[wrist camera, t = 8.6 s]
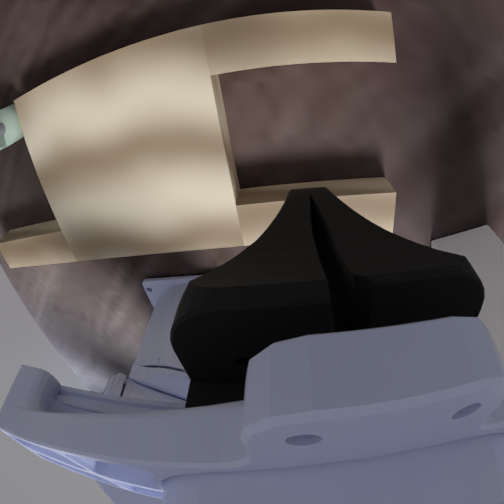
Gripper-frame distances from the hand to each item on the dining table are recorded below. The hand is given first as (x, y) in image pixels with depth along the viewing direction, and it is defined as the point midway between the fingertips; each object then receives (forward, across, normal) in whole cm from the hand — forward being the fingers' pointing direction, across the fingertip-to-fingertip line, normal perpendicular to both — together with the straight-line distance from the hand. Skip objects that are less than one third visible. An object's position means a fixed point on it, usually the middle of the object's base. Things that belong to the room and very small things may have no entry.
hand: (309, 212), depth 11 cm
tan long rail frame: (+9, +11, -1) cm, 15 cm away
